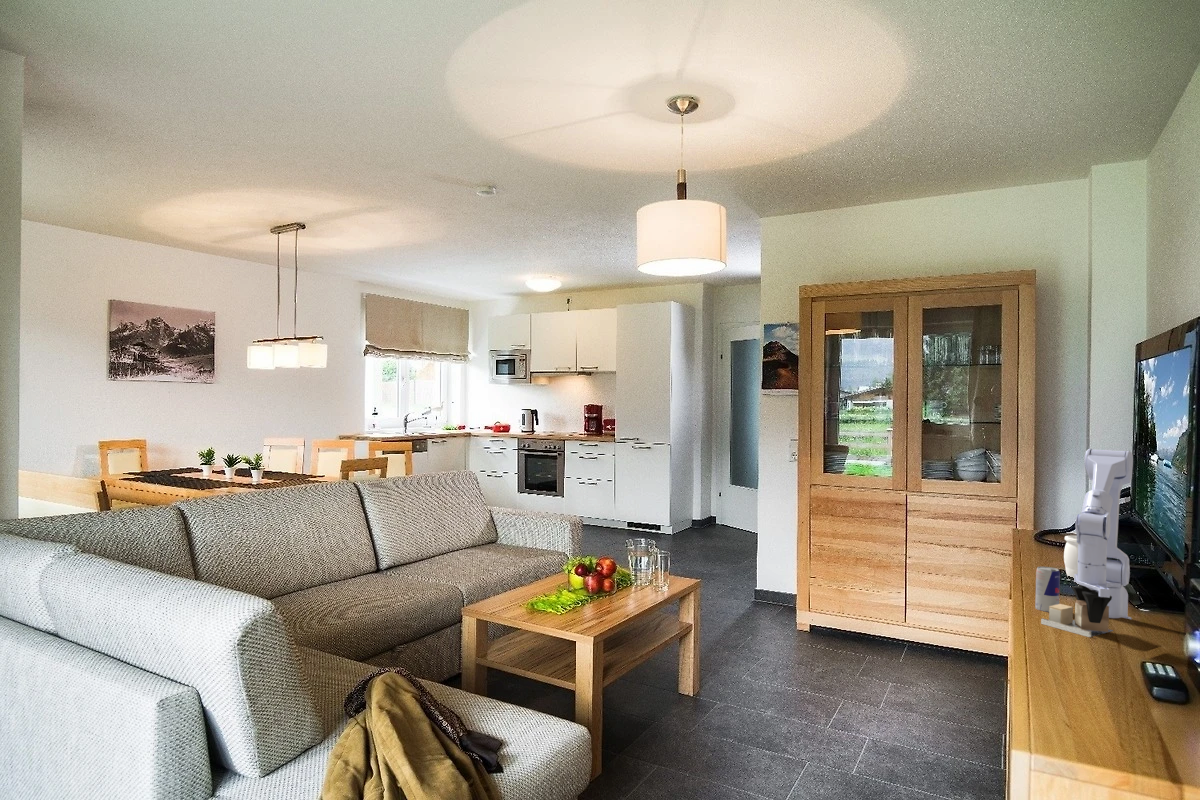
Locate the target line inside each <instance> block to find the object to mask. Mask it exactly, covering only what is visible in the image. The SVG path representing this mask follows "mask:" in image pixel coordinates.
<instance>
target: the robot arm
mask: <svg viewBox="0 0 1200 800" xmlns="http://www.w3.org/2000/svg"><path fill="white" fill-rule="evenodd" d="M1133 465H1134V456H1133V453H1132V451H1130V450H1116V449H1115V450H1114V449H1099V448H1098V449H1095V448H1088V449H1087V450H1086V451H1085V454H1084V469H1085V471H1086V474H1087V476H1088V479H1089V480H1090V481H1092V484H1091V490H1089V491H1087V492H1086V493H1085V494H1084V499H1083V502H1082V503H1083V504H1082V507H1081V511H1080V514H1079V513H1077V515H1076V518H1075V532H1076V536H1077V543H1078V573H1077V574H1074V582H1076V583H1077V584H1079V585H1078V586H1072V587H1071V588H1072V591H1073V592H1074V593H1073V594H1074V595H1075V597H1076V600H1082V601H1086V604H1087V610H1088V618H1089V622H1092V623H1100V622H1101V619H1102V616H1103V613H1104V610H1105V608H1106V606H1109V619H1120V618H1124V619H1128V620H1132V619H1133V618H1132V616H1129V614H1128V613H1129V612H1128V611H1129V610H1128V608H1129V594H1128V591H1127V589H1126V586H1127V585H1128V584H1129V582H1130V575H1131V572H1130V571H1131V569H1130V568H1131V567H1130V558H1129V556H1128V554H1126V553H1125V552H1124V551H1122V550H1121V549H1120V548H1118V534H1119V516H1120V498H1121V491H1122V489H1123V486H1124V485H1127V484H1130V483H1131V481H1132V479H1133V467H1134V466H1133ZM1108 558H1109V559H1108ZM1110 558H1111V559H1110Z"/></svg>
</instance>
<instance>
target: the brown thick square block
mask: <svg viewBox="0 0 1200 800" xmlns="http://www.w3.org/2000/svg"><path fill="white" fill-rule="evenodd" d="M1074 606H1075V609H1074V610H1075V611H1074V620H1075V625H1077V626H1078V627H1079V628H1081V629H1084V630H1093V631H1104V632H1107V633H1109V632H1108V629H1109V619H1110V618H1109V606H1106V608H1105V610H1104V613H1103V616H1102V619H1101V622H1100V623H1092V622H1089V618H1088V610H1087V604H1086V601H1082V600H1077V599H1076V600H1075V605H1074Z"/></svg>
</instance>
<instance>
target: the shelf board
mask: <svg viewBox="0 0 1200 800" xmlns="http://www.w3.org/2000/svg"><path fill="white" fill-rule="evenodd" d="M1040 624H1041V625H1044V626H1048V627H1051V628H1055V629H1059V630H1062V631H1065V632H1069V633H1073V634H1076V635H1080V636H1083V637H1087V638H1092V637H1096V636H1099V635H1102V634H1106V633H1111V632H1114V629H1109V628H1108V632H1104V631H1093V630H1084V629H1081V628H1079V627H1078V626H1077V625H1075V619H1073V623H1070V624H1066V625H1065V624H1062V623H1058V622H1054V621H1051V620H1049V619H1046V618H1041V619H1040Z"/></svg>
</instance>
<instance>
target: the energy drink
mask: <svg viewBox="0 0 1200 800" xmlns="http://www.w3.org/2000/svg"><path fill="white" fill-rule="evenodd" d="M1060 581H1061V572H1060V569H1059V568H1055V567H1051V566H1037V568H1036V571H1035V607H1034V608H1035V609H1036V610H1038V611H1041V612H1045V613H1049V606H1053V605H1057V604H1060V592H1061V591H1060V586H1061V585H1060V584H1061V582H1060Z"/></svg>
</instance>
